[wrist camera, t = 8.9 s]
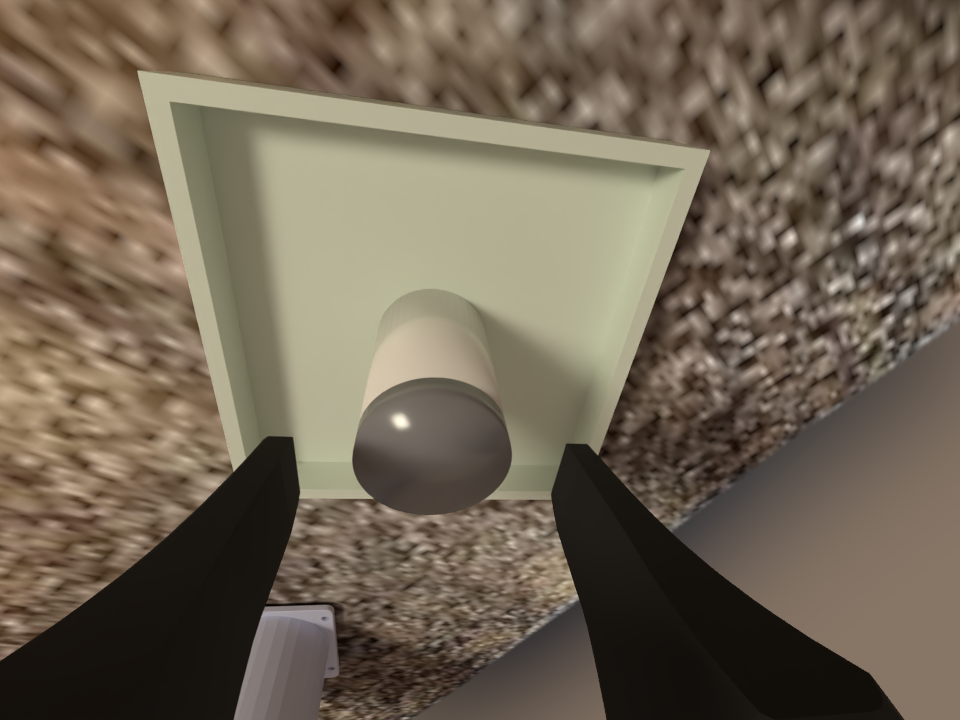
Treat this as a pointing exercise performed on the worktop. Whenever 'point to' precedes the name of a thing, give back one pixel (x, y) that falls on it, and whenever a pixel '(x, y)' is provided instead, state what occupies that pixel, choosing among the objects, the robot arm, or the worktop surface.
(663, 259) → the tray
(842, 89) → the worktop surface
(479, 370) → the cylinder
